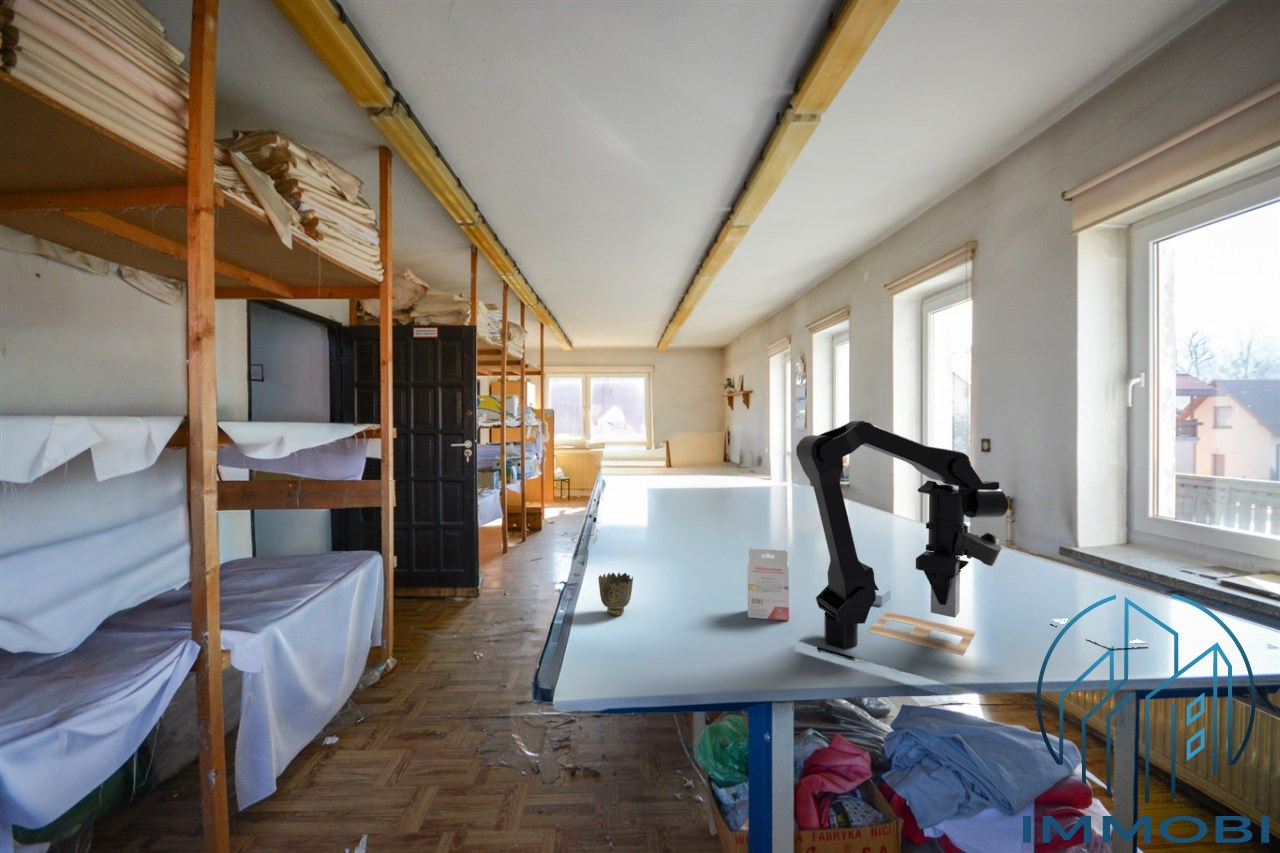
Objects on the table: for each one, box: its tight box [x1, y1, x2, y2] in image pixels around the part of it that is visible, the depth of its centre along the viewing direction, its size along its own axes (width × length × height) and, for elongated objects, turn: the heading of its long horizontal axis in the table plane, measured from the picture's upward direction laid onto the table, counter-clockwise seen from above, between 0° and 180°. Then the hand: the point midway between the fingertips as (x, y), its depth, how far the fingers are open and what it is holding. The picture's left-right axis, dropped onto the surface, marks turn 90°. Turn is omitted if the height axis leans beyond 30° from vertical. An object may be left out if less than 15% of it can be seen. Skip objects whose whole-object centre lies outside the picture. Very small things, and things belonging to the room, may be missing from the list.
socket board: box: [866, 611, 977, 656], centre depth 102 cm, size 14×16×2 cm
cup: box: [598, 572, 634, 617], centre depth 114 cm, size 8×7×8 cm
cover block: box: [872, 586, 892, 607], centre depth 120 cm, size 6×8×4 cm
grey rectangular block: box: [930, 569, 961, 619], centre depth 99 cm, size 4×4×8 cm
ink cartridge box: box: [747, 547, 790, 622], centre depth 114 cm, size 9×5×15 cm, turn 76°
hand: (945, 601), depth 99 cm, fingers closed on grey rectangular block, 4 cm apart
